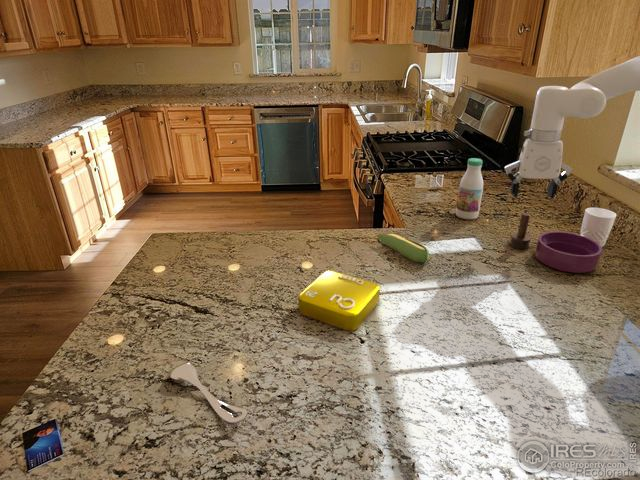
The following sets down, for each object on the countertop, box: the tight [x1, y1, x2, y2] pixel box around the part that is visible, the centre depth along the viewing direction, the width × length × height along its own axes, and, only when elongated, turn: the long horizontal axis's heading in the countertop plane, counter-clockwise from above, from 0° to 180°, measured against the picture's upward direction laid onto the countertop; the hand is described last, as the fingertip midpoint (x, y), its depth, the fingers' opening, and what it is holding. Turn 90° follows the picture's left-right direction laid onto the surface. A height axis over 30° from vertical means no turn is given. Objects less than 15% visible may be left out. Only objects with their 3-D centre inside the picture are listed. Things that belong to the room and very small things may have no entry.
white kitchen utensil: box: [168, 361, 248, 424], centre depth 74 cm, size 20×4×5 cm
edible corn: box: [376, 232, 431, 263], centre depth 123 cm, size 5×20×5 cm, turn 35°
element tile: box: [298, 270, 381, 332], centre depth 99 cm, size 15×15×5 cm
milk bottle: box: [455, 157, 484, 220], centre depth 144 cm, size 8×8×20 cm
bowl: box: [534, 230, 603, 274], centre depth 118 cm, size 15×15×6 cm
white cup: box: [579, 207, 617, 248], centre depth 127 cm, size 8×8×10 cm
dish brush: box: [509, 212, 532, 250], centre depth 125 cm, size 5×5×10 cm
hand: (532, 196), depth 120 cm, fingers open, 9 cm apart
